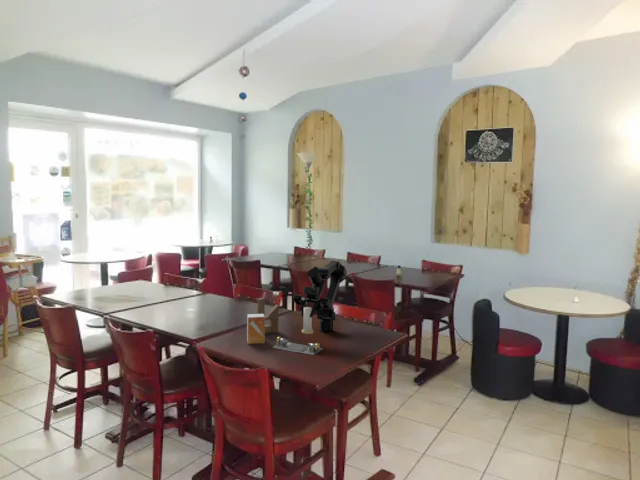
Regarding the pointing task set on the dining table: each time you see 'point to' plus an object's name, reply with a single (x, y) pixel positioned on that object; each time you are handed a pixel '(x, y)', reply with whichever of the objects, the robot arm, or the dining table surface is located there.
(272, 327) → the wooden block
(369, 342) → the dining table surface
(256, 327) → the small box
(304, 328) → the grey upright cylinder
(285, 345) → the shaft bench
